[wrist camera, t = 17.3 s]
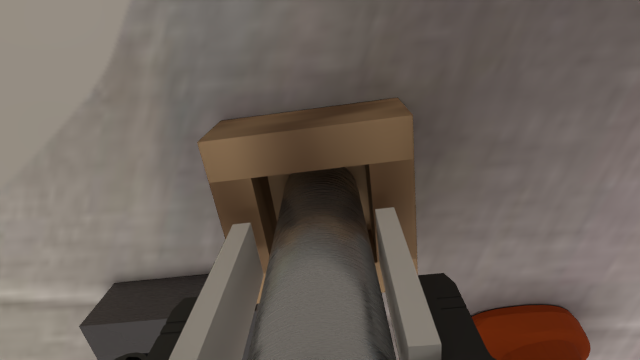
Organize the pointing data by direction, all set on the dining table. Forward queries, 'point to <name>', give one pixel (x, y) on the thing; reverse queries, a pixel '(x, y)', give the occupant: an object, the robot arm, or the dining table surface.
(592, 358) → the dining table surface
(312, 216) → the dark grey tall piece
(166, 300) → the block
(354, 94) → the dining table surface
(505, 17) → the dining table surface
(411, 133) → the wooden square frame
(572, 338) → the toy drill
